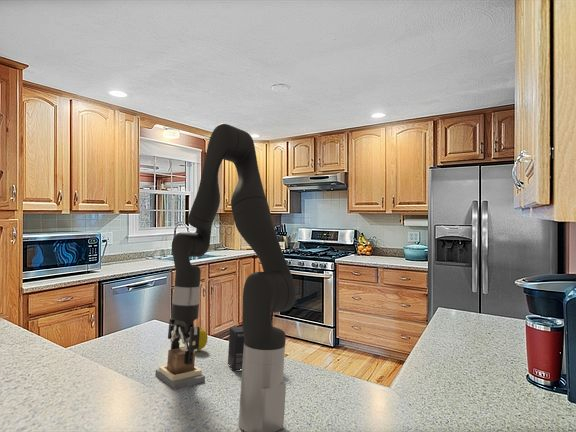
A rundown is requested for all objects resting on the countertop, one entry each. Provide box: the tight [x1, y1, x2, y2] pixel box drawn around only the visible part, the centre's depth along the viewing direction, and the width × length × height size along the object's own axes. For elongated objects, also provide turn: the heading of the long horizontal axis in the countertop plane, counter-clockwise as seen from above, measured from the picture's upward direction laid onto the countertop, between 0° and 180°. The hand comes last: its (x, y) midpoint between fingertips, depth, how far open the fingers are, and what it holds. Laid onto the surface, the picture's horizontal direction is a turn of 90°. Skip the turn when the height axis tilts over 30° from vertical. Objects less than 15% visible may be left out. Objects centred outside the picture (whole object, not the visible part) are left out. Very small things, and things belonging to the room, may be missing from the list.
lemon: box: [194, 327, 208, 351], centre depth 125 cm, size 6×6×8 cm
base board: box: [155, 364, 206, 390], centre depth 100 cm, size 12×9×3 cm
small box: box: [227, 326, 244, 372], centre depth 113 cm, size 13×7×12 cm, turn 115°
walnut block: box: [166, 347, 196, 375], centre depth 100 cm, size 6×6×6 cm
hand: (181, 359), depth 100 cm, fingers open, 8 cm apart
